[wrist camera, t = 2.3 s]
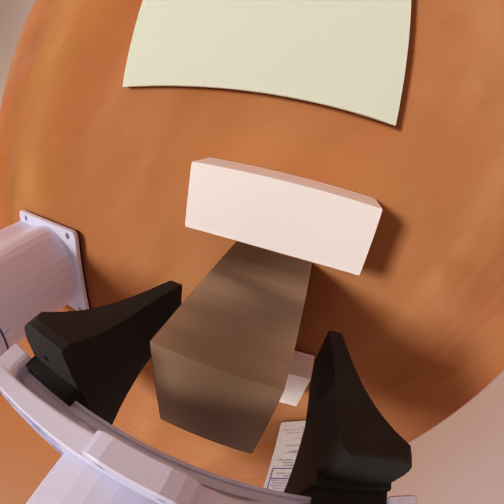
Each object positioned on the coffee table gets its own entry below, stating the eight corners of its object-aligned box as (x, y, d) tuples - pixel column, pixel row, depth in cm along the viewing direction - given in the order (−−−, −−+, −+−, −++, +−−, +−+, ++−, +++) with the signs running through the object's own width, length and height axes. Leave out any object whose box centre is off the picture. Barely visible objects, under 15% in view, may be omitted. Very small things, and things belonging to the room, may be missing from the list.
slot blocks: (192, 348, 19) (179, 367, 17) (210, 157, 13) (191, 161, 11) (300, 383, 17) (295, 406, 16) (375, 198, 12) (382, 209, 10)
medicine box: (281, 419, 20) (252, 509, 12) (334, 415, 18) (317, 514, 10) (304, 456, 22) (286, 527, 14) (347, 453, 20) (335, 529, 13)
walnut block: (224, 315, 17) (160, 419, 10) (236, 241, 14) (150, 341, 7) (288, 335, 16) (251, 453, 9) (312, 262, 14) (284, 390, 7)
